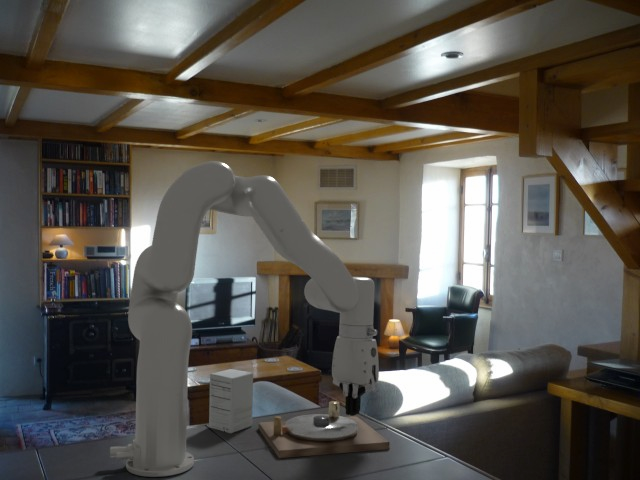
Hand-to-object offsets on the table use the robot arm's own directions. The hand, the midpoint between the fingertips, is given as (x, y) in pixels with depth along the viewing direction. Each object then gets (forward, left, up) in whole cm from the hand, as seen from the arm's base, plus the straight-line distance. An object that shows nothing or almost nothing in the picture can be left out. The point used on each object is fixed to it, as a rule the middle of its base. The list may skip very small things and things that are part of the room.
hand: (352, 413), depth 142 cm
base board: (-7, 0, -5) cm, 9 cm away
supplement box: (-25, +13, -5) cm, 29 cm away
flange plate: (-8, 0, -3) cm, 8 cm away
